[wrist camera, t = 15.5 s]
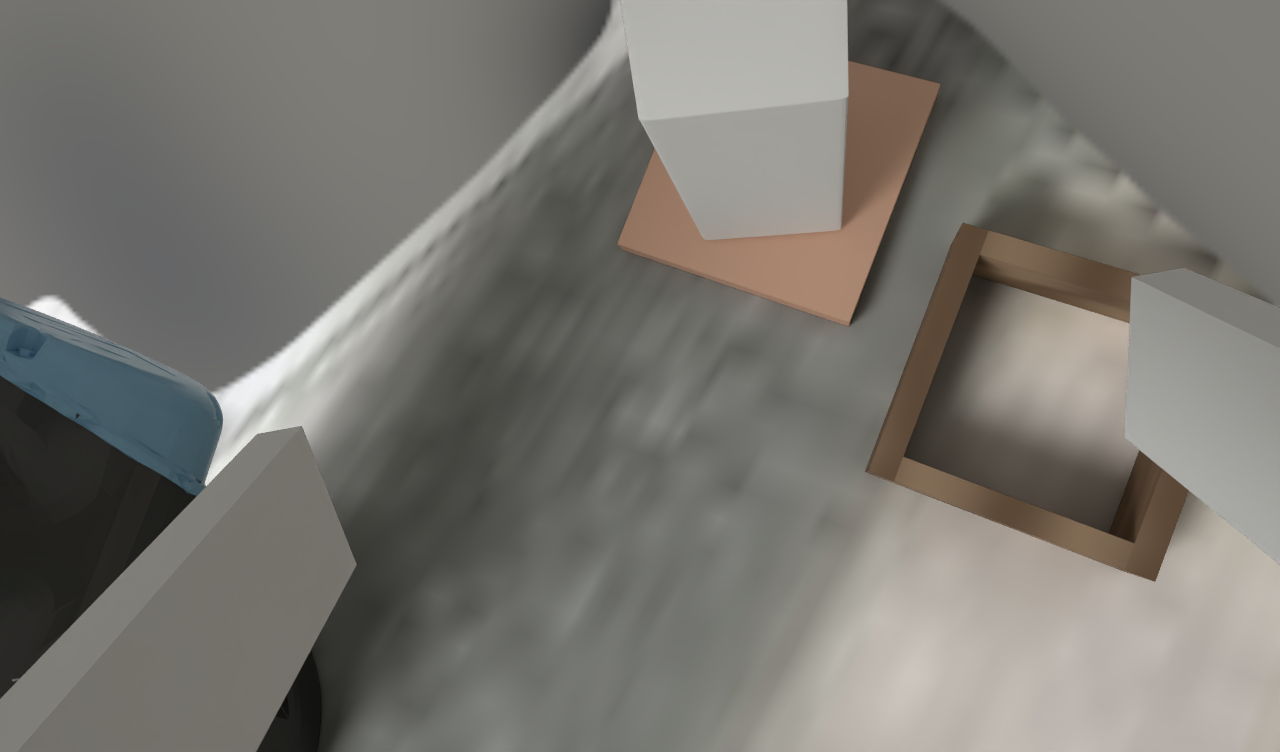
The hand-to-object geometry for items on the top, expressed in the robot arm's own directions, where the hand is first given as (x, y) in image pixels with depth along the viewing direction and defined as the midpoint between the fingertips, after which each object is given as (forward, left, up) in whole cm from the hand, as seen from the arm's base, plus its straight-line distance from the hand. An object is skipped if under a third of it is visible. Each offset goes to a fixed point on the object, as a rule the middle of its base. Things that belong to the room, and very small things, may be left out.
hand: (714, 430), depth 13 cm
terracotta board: (-6, +14, -29) cm, 33 cm away
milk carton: (-6, +14, -28) cm, 32 cm away
